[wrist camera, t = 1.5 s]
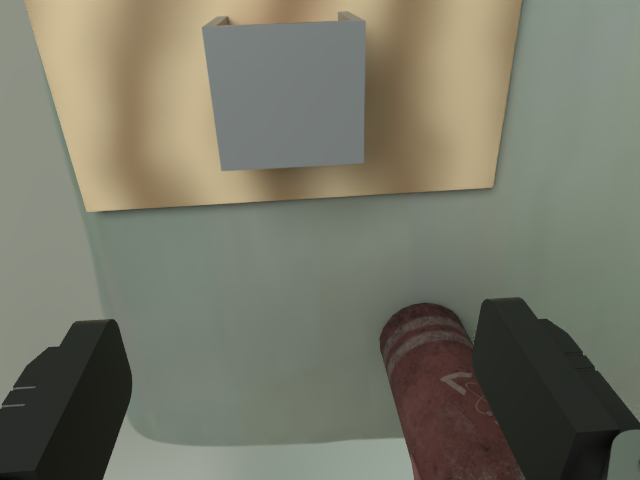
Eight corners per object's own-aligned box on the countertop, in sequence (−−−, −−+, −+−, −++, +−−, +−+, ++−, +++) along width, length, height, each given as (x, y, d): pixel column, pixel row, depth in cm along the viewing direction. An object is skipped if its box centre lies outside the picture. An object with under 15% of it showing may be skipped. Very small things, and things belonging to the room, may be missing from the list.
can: (373, 304, 34) (427, 491, 22) (462, 295, 34) (565, 474, 22) (375, 368, 37) (423, 564, 25) (457, 359, 37) (545, 548, 25)
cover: (347, 11, 24) (365, 20, 19) (348, 129, 27) (363, 163, 22) (217, 16, 23) (201, 27, 19) (231, 135, 26) (221, 171, 21)
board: (526, -91, 23) (536, -93, 22) (486, 181, 30) (492, 187, 29) (12, -76, 22) (1, -78, 21) (92, 204, 29) (86, 211, 28)
